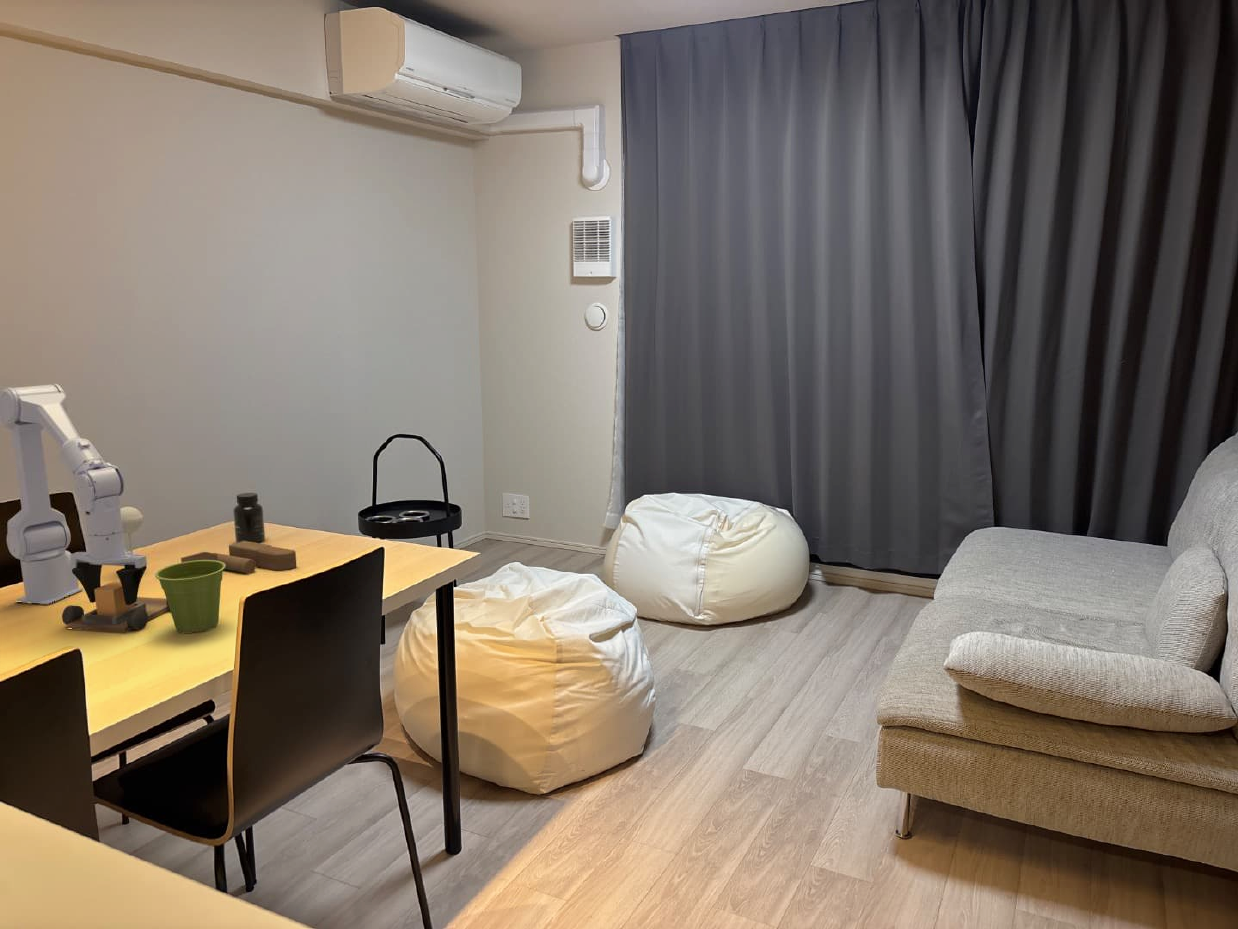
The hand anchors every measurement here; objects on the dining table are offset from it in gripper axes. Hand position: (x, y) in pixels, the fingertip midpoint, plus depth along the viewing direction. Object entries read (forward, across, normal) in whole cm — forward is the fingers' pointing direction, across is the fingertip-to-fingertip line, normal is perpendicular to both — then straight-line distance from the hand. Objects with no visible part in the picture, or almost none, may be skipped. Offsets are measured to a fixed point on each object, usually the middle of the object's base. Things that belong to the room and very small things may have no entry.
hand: (113, 602), depth 174 cm
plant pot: (+4, -17, 0) cm, 17 cm away
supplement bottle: (+4, +7, -56) cm, 57 cm away
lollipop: (+4, +18, -28) cm, 34 cm away
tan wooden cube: (+3, 0, 0) cm, 3 cm away
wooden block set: (+4, -5, -33) cm, 33 cm away
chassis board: (+4, 0, -3) cm, 5 cm away
